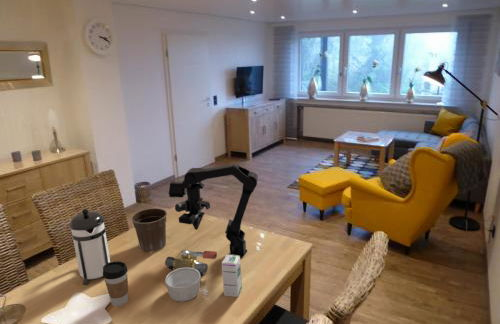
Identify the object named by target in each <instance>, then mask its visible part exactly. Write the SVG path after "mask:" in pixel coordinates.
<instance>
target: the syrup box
mask: <svg viewBox="0 0 500 324" xmlns="http://www.w3.org/2000/svg"><path fill="white" fill-rule="evenodd" d="M241 268H242V267H241V258H240V256H238V255H229V254H225V256H224V257H223V260H222V261H221V272H222V284H223V285H222V287H223V295H224V297H225V296H226V297H233V298H239V296H240V294H241V291H242V288H243V287H242V285H243V283H242V270H241Z"/></svg>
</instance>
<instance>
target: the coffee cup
mask: <svg viewBox="0 0 500 324" xmlns="http://www.w3.org/2000/svg"><path fill="white" fill-rule="evenodd" d="M128 269H129V268H128V267H127V264H126V263H125V261H119V260H117V261H116V260H115V261H110V262H109V263H107V264H106V265H104V266H103V276H102V277H103V278H104V283H105V286H106V289H107V292H108V295H109V299H110V304H111V305H112V306H113V307H121V306H124V305H126V304H127V303H128V301H129V293H128V292H129V286H128V284H129V282H128Z"/></svg>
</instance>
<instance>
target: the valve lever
mask: <svg viewBox="0 0 500 324" xmlns="http://www.w3.org/2000/svg"><path fill="white" fill-rule="evenodd" d="M180 252H181V255H182V257H188V256H197V257H198V258H199V257H202V258H203V259H208V260H216V259H217V256H218V253H217V251H215V250H213V251H212V250H204V251H193V250H189V249H185V248H184V249H182V250H181V251H180Z"/></svg>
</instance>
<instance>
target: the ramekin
mask: <svg viewBox="0 0 500 324" xmlns="http://www.w3.org/2000/svg"><path fill="white" fill-rule="evenodd" d="M201 277H202V276H201V275H200V273H199V271H198V270H196V269H193V268H179V269H176V270H175V269H173V270H171V271H170V272H169V273H168V274H167V275H166V277H165V279H164V282H165V283H164V285H165V287H166V290H167V293H168V296H169V297H170V299H172V300H174V301H176V302H187V301H190V300H193V299H194V298H195V297H197V296H198V294H199V293H200V290H201V280H202V279H201Z"/></svg>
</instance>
